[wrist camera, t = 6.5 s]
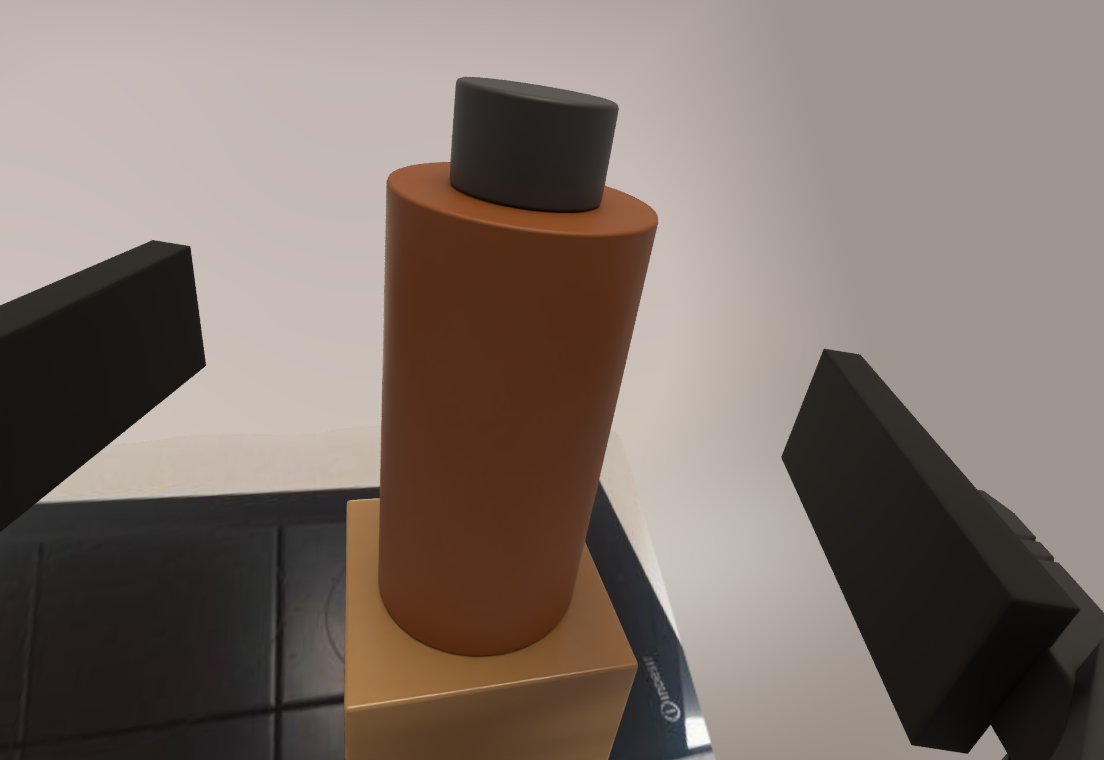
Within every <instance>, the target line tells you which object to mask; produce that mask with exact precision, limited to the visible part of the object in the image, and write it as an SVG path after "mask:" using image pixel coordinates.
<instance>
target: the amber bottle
mask: <svg viewBox="0 0 1104 760" xmlns="http://www.w3.org/2000/svg"><path fill="white" fill-rule="evenodd" d="M618 110H619V109H618V105H617V104H616V103H614V102H613V101H610V100H607V99H604V98H600V97H596V96H592V95H588V94H583V93H578V92H574V91H569V90H563V89H557V88H552V87H546V86H540V85H534V84H528V83H521V82H514V81H507V80H498V79H489V78H479V77H462V78H459V79H458V80H457V82H456V91H455V105H454V119H453V135H452V149H451V162H440V163H426V164H418V165H412V166H408V167H404V168H401V169H398V170H396V171H394V172H392V173H391V174H390V176H389V177H388V180H387V194H386V240H385V244H386V245H385V285H384V332H383V378H382V423H381V469H380V514H379V560H378V585H379V590H380V595H381V598H382V600H383V603H384V605H385V607H386V609H387V610H388V612H389V614H390V615H391V616H392V618H393V619H394V620H395V621H396V623H397V624H398V625H399V626H400V627H401V628H403V629H404V630H405V631H406V632H407V633H408V634H410V635H411V636H413V637H414V638H416V639H417V640H419V641H421V642H423V643H425V644H427V645H429V646H431V647H434V648H436V649H439V650H442V651H445V652H450V653H454V654H459V655H468V656H490V655H499V654H504V653H508V652H512V651H516V650H518V649H521V648H524V647H526V646H528V645H530V644H532V643H534V642H536V641H538V640H539V639H541V638H542V637H544V636H545V635H546V634H548V633H549V632H550V631H551V630H552V629H553V628H554V627H555V626H556V625H557V624H558V623H559V622H560V620H561V619H562V618H563V616H564V615H565V613H566V611H567V609H568V607H569V605H570V602H571V599H572V595H573V591H574V586H575V582H576V578H577V573H578V569H579V564H580V560H581V556H582V551H583V547H584V543H585V538H586V534H587V530H588V525H589V521H590V517H591V512H592V508H593V504H594V499H595V495H596V490H597V486H598V482H599V477H600V473H601V469H602V464H603V460H604V456H605V451H606V447H607V443H608V438H609V434H610V429H611V425H612V421H613V416H614V412H615V407H616V403H617V399H618V394H619V390H620V386H621V382H622V377H623V373H624V368H625V364H626V360H627V355H628V351H629V347H630V342H631V338H632V333H633V329H634V325H635V321H636V316H637V312H638V307H639V303H640V299H641V294H642V290H643V286H644V281H645V277H646V273H647V268H648V264H649V259H650V255H651V251H652V247H653V242H654V238H655V234H656V229H657V225H658V216H657V214H656V212H655V211H654V210H653V209H652V208H651V207H650V206H648V205H647V204H646V203H644V202H642V201H640V200H639V199H637V198H635V197H633V196H631V195H628V194H626V193H624V192H621V191H618V190H616V189H613V188H610V187H607V186H605V181H606V175H607V170H608V164H609V159H610V153H611V148H612V143H613V137H614V131H615V126H616V121H617V115H618Z"/></svg>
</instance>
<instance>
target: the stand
mask: <svg viewBox="0 0 1104 760" xmlns="http://www.w3.org/2000/svg"><path fill="white" fill-rule="evenodd" d="M379 514H380V499H365V500H350V501H348V503H347V533H346V601H345V670H344V746H345V760H608V758H609V755H610V752H611V749H612V746H613V742H614V739H615V736H616V733H617V730H618V727H619V724H620V721H621V718H622V715H623V712H624V709H625V705H626V702H627V699H628V696H629V693H630V690H631V687H632V684H633V681H634V678H635V675H636V672H637V668H638V663H637V661H636V659H635V656H634V654H633V652H632V649H631V647H630V645H629V643H628V640H627V638H626V636H625V633H624V631H623V629H622V626H621V624H620V622H619V619H618V617H617V615H616V613H615V610H614V608H613V606H612V603H611V601H610V599H609V596H608V594H607V592H606V589H605V587H604V585H603V583H602V580H601V578H600V576H599V573H598V571H597V569H596V566H595V564H594V562H593V559H592V557H591V555H590V553H589V550H588V548H587V546H586V543H584V547H583V551H582V556H581V560H580V564H579V569H578V573H577V578H576V582H575V586H574V591H573V595H572V599H571V602H570V605H569V607H568V609H567V611H566V613H565V615H564V616H563V618H562V619H561V620H560V622H559V623H558V624H557V625H556V626H555V627H554V628H553V629H552V630H551V631H550V632H549V633H548V634H546V635H545V636H544V637H542V638H541V639H539V640H538V641H536V642H534V643H532V644H530V645H528V646H526V647H524V648H521V649H518V650H516V651H512V652H508V653H504V654H499V655H490V656H468V655H459V654H454V653H450V652H445V651H442V650H439V649H436V648H434V647H431V646H429V645H427V644H425V643H423V642H421V641H419V640H417V639H416V638H414V637H413V636H411V635H410V634H408V633H407V632H406V631H405V630H404V629H403V628H401V627H400V626H399V625H398V624H397V623H396V621H395V620H394V619H393V618H392V616H391V615H390V614H389V612H388V610H387V609H386V607H385V605H384V603H383V600H382V598H381V595H380V590H379V585H378V560H379Z"/></svg>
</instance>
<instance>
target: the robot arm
mask: <svg viewBox="0 0 1104 760" xmlns="http://www.w3.org/2000/svg"><path fill="white" fill-rule="evenodd" d="M205 366H206V362H205V354H204V347H203V340H202V332H201V324H200V316H199V309H198V301H197V294H196V286H195V279H194V271H193V264H192V256H191V248H190V246H186V245H179V244H173V243H166V242H161V241H155V240H152V241H150V242H147V243H145V244H143V245H141V246H138V247H136V248H133V249H131V250H129V251H126V252H124V253H122V254H120V255H117V256H115V257H112V258H110V259H108V260H105V261H103V262H101V263H98V264H96V265H94V266H92V267H89V268H87V269H84V270H82V271H80V272H77V273H75V274H73V275H70V276H68V277H66V278H63V279H61V280H59V281H56V282H54V283H52V284H49V285H47V286H45V287H42V288H40V289H38V290H35V291H33V292H31V293H28V294H26V295H24V296H21V297H19V298H17V299H14V300H12V301H10V302H7V303H5V304H3V305H0V532H1V531H2V530H3V529H4V528H6V527H7V526H8V525H9V524H11V523H12V522H13V521H14V520H16V519H17V518H18V517H19V516H21V515H22V514H23V513H24V512H25V511H27V510H28V509H29V508H30V507H32V506H33V505H34V504H35V503H37V502H38V501H39V500H40V499H42V498H43V497H44V496H45V495H47V494H48V493H49V492H50V491H51V490H53V489H54V488H55V487H56V486H58V485H59V484H60V483H61V482H63V481H64V480H65V479H66V478H68V477H69V476H70V475H71V474H73V473H74V472H75V471H76V470H77V469H79V468H80V467H81V466H82V465H84V464H85V463H86V462H87V461H89V460H90V459H91V458H92V457H94V456H95V455H96V454H97V453H99V452H100V451H101V450H102V449H103V448H105V447H106V446H107V445H108V444H110V443H111V442H112V441H113V440H115V439H116V438H117V437H118V436H120V435H121V434H122V433H123V432H125V431H126V430H127V429H128V428H129V427H131V426H132V425H133V424H134V423H136V422H137V421H138V420H139V419H141V418H142V417H143V416H144V415H146V414H147V413H148V412H149V411H150V410H151V409H153V408H154V407H155V406H157V405H158V404H159V403H160V402H162V401H163V400H164V399H165V398H167V397H168V396H169V395H170V394H172V393H173V392H174V391H175V390H176V389H178V388H179V387H180V386H181V385H183V384H184V383H185V382H186V381H188V380H189V379H190V378H191V377H193V376H194V375H195V374H196V373H198V372H199V371H200V370H201V369H202V368H204V367H205ZM782 460H783V462H784V464H785V467H786V469H787V471H788V473H789V475H790V478H791V480H792V482H793V484H794V486H795V489H796V491H797V493H798V495H799V497H800V500H801V502H802V504H803V507H804V509H805V511H806V513H807V515H808V518H809V520H810V522H811V524H812V526H813V528H814V531H815V533H816V535H817V537H818V540H819V542H820V544H821V546H822V548H823V551H824V553H825V555H826V557H827V559H828V562H829V564H830V566H831V568H832V570H833V572H834V575H835V577H836V579H837V582H838V584H839V586H840V588H841V590H842V593H843V595H844V597H845V599H846V602H847V604H848V606H849V608H850V610H851V612H852V615H853V617H854V619H855V621H856V623H857V626H858V628H859V630H860V632H861V635H862V637H863V639H864V641H865V644H866V645H867V648H868V650H869V652H870V654H871V657H872V659H873V661H874V663H875V666H876V668H877V670H878V672H879V674H880V677H881V679H882V681H883V683H884V686H885V687H886V690H887V692H888V694H889V697H890V699H891V701H892V703H893V705H894V707H895V710H896V712H897V714H898V716H899V719H900V721H901V723H902V725H903V727H904V730H905V731H906V734H907V736H908V738H909V741H910V743H911V745H914V746H921V747H928V748H934V749H940V750H947V751H954V752H960V753H966V754H968V753H969V752H970V750H971V749H972V748H973V746H974V745H975V744H976V743H977V741H978V740H979V739H980V737H981V736H982V735H983V734H984V732H985V731H986V730H987V728H988V727H989V726H990V725H991V726H992V728H993V729H994V731H995V733H996V735H997V736H998V738H999V740H1000V741H1001V743H1002V745H1003V746H1004V748H1005V750H1006V752H1007V754H1006V755H1005V757H1004V758H1003V759H1002V760H1104V613H1103V611H1102V610H1101V609H1100V608H1099V607H1098V606H1097V605H1096V604H1095V603H1094V601H1093V600H1092V599H1091V598H1090V597H1089V596H1088V595H1087V594H1086V592H1085V591H1084V590H1083V589H1082V588H1081V587H1080V586H1079V585H1078V584H1077V583H1076V581H1075V580H1074V579H1073V578H1072V577H1071V576H1070V575H1069V574H1068V572H1067V571H1066V570H1065V569H1064V568H1063V567H1062V566H1061V565H1060V564H1059V563H1056V562H1054V557H1053V556H1052V555H1051V554H1050V553H1049V551H1048V550H1047V549H1046V548H1045V547H1044V546H1043V545H1042V544H1041V543H1040V542H1036V541H1035V539H1036V537H1035V536H1034V535H1033V534H1032V533H1031V531H1029V529H1028V528H1027V527H1026V526H1025V525H1024V524H1023V523H1022V521H1021V520H1020V519H1019V518H1018V517H1017V516H1016V515H1015V514H1014V513H1013V512H1012V511H1010V510H1009V509H1008V508H1006V507H1005V506H1004V505H1002V504H1001V503H999V502H998V501H997V500H995V499H994V498H992V497H991V496H990V495H988V494H987V493H986V492H984V491H982V490H977V489H976V488H975V487H974V486H973V485H972V483H971V482H970V481H969V480H968V479H967V477H966V476H965V475H964V474H963V473H962V472H961V471H960V469H959V468H958V467H957V466H956V465H955V464H954V462H953V461H952V460H951V459H950V458H949V457H948V456H947V454H946V453H945V452H944V451H943V450H942V449H941V448H940V446H939V445H938V444H937V443H936V442H935V440H934V439H933V438H932V437H931V436H930V435H929V433H928V432H927V431H926V430H925V429H924V428H923V427H922V425H921V424H920V423H919V422H918V421H917V420H916V418H915V417H914V416H913V415H912V414H911V413H910V412H909V411H908V409H907V408H906V407H905V406H904V405H903V403H902V402H901V401H900V400H899V399H898V398H897V397H896V395H895V394H894V393H893V392H892V391H891V390H890V388H889V387H888V386H887V385H886V384H885V383H884V381H883V380H882V379H881V378H880V377H879V376H878V374H877V373H876V372H875V371H874V370H873V369H872V368H871V366H870V365H869V364H868V363H867V362H866V361H865V359H864V358H863V357H862V356H861V355H859V354H853V353H846V352H841V351H834V350H829V349H824V350H823V352H822V355H821V357H820V360H819V363H818V365H817V368H816V370H815V373H814V376H813V378H812V380H811V383H810V385H809V388H808V390H807V393H806V396H805V398H804V401H803V403H802V406H801V408H800V411H799V413H798V416H797V419H796V421H795V424H794V426H793V429H792V431H791V434H790V436H789V439H788V442H787V444H786V447H785V449H784V452H783V454H782Z"/></svg>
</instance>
